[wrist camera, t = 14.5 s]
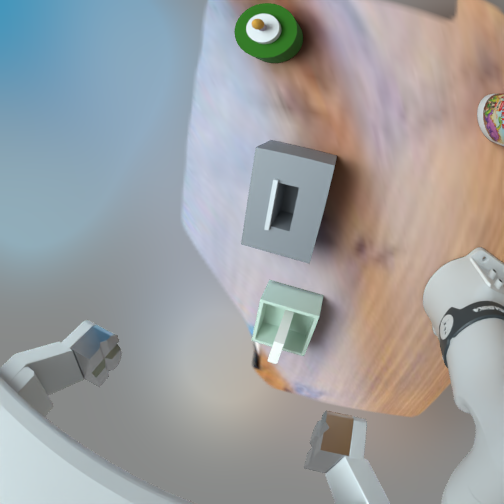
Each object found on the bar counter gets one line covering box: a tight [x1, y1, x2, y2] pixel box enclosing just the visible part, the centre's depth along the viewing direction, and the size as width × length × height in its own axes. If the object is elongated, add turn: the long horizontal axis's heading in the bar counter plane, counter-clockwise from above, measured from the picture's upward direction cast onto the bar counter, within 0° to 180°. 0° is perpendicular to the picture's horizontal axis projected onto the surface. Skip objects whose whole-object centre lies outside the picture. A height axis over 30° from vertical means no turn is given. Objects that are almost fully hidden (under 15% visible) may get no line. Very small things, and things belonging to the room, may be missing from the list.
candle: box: [235, 3, 303, 63], centre depth 32 cm, size 8×8×10 cm
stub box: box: [252, 280, 323, 356], centre depth 54 cm, size 10×10×6 cm
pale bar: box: [268, 310, 294, 364], centre depth 51 cm, size 2×5×11 cm, turn 170°
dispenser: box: [241, 140, 337, 264], centre depth 43 cm, size 10×14×9 cm
